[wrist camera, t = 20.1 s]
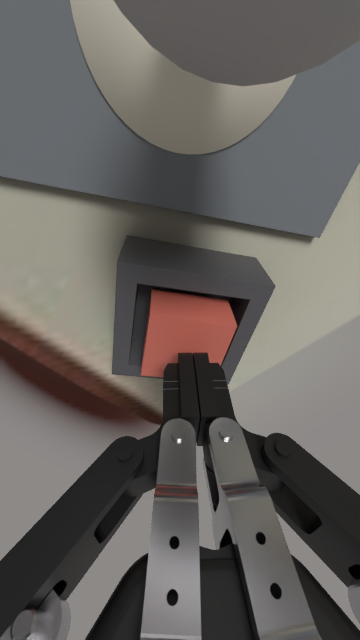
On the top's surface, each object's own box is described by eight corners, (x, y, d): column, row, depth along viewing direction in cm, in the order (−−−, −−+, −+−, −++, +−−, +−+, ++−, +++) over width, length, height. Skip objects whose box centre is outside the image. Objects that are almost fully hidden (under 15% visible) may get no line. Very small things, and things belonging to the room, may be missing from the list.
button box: (119, 338, 19) (111, 374, 17) (126, 235, 15) (117, 261, 12) (219, 349, 21) (228, 384, 18) (256, 257, 16) (275, 286, 13)
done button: (143, 346, 17) (140, 375, 15) (151, 289, 14) (149, 314, 12) (208, 353, 17) (213, 381, 15) (227, 299, 15) (237, 325, 13)
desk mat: (-17, 170, 12) (-24, 172, 12) (-251, -822, 4) (-306, -945, 4) (315, 234, 15) (320, 238, 15) (578, -275, 7) (609, -305, 6)
